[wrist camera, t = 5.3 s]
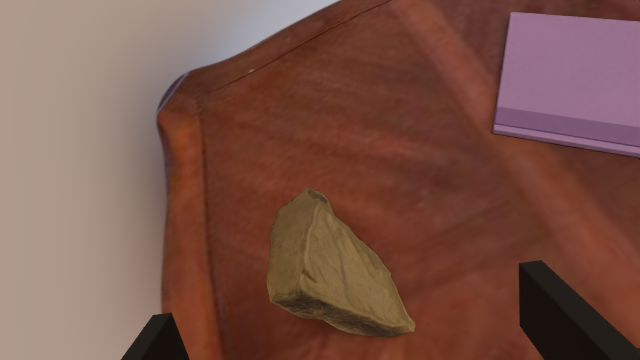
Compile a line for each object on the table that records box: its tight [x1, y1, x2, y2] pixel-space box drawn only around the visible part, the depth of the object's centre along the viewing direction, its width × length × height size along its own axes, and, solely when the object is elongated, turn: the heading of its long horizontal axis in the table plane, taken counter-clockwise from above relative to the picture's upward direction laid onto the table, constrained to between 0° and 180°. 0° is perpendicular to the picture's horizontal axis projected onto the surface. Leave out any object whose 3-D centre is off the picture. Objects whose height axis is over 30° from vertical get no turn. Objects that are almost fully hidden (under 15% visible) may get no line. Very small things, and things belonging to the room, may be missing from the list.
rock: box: [267, 188, 415, 337], centre depth 21 cm, size 11×9×10 cm
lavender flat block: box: [492, 12, 640, 158], centre depth 26 cm, size 18×13×1 cm
